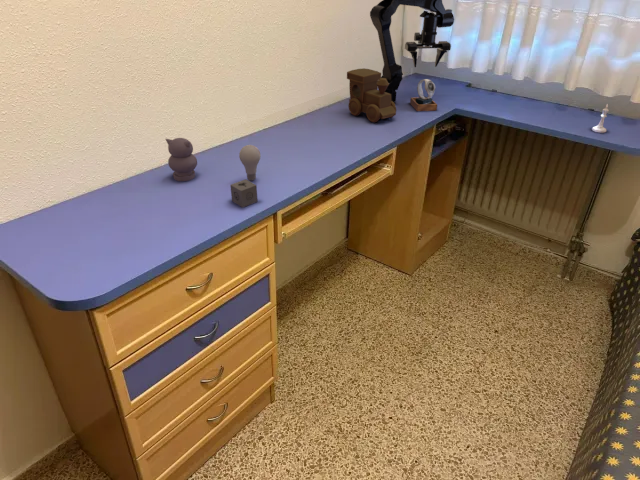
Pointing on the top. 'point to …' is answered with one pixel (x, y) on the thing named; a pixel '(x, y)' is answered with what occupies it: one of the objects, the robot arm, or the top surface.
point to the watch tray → (423, 105)
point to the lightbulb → (250, 160)
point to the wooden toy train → (369, 95)
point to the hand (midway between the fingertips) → (425, 66)
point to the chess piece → (601, 122)
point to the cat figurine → (181, 159)
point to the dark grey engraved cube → (244, 193)
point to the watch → (429, 89)
